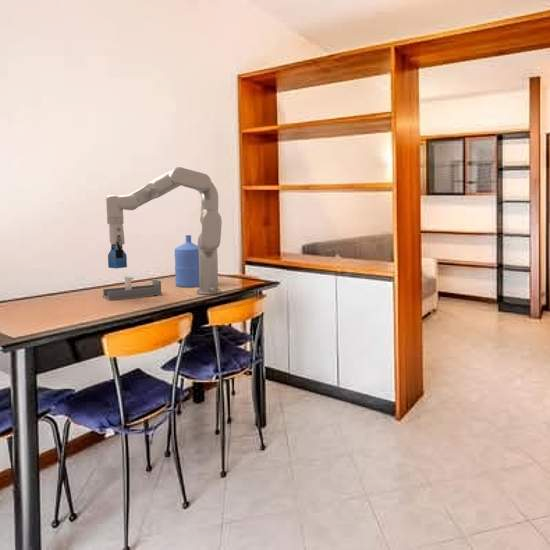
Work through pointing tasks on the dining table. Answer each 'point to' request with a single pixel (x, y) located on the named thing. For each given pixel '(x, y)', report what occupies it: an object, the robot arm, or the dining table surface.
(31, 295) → the dining table surface
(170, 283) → the dining table surface
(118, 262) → the perfume bottle
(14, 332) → the dining table surface
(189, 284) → the water jug
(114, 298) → the tray
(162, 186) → the robot arm
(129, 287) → the pusher
